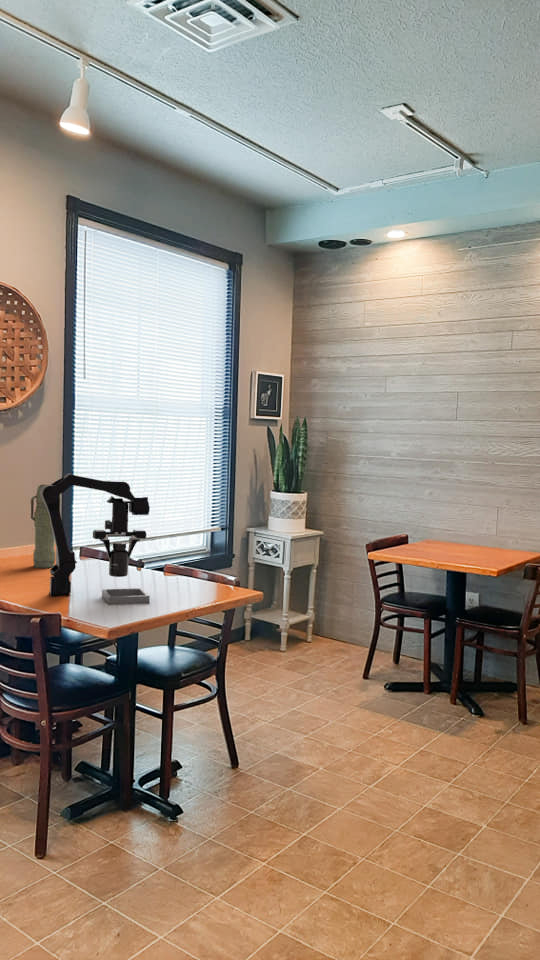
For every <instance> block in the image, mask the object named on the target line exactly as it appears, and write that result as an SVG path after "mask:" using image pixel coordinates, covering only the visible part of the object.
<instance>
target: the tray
mask: <svg viewBox="0 0 540 960" xmlns="http://www.w3.org/2000/svg"><path fill="white" fill-rule="evenodd" d="M150 597H151V596H150V595H149V593H147V592H146V591H145V590H144V589H143V588H142V587H137V588H136V587H134V588H107V589H105V588H104V589H101V598H102V599H103V600H104V601H105V602H106V603H107V605H109V606H110V605H111V606H112V605H113V606H114V605H134V604H135V605H137V604H150Z"/></svg>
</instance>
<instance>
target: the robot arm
mask: <svg viewBox="0 0 540 960" xmlns="http://www.w3.org/2000/svg"><path fill="white" fill-rule="evenodd" d="M44 485H45V486H43V487H42V488H41V490H40V495H41V497H42V500H43V502H44V504H45V506H46V508H47V510H48V514H49V518H50V523H51V527H52V531H53V536H54V546H55V549H56V550H55V566H54V567H52V568H49V569H50V570H49V572H50V573H49V574H50V575H51V576H50V578H49V583H50V584H49V595H50V597H66V596H70V595H71V591H72V590H71V587H72V581H71V580H70V576H71V574H73V572H74V571H75V569H76V564H78V562H77V561H76V556H75V555H76V554H75V551H73V550H72V549H69V547H68V542H67V538H66V534H65V528H64V525H63V521H62V515H61V509H60V510H59V507H60V508H61V499H60V497H61V496H60V495H61V494H63V493H65V492H66V491H67V490H68V489H70V488H71V487H72V486H74V487H81V488H86V489H92V490H97V491H103V492H106V493H108V494H111V496H110V497H109V498H108V499H107V500H106V502H107V503H108V504H112V507H111V508H112V509H111V520H110V519H107V520H104V529H94V530H93V531H92V538H93V539H94V540H99V541H100V542H102V543H103V545H104V547H105V551H106V553H107V557H108V559H110V551H111V543H110V539H109V538H112V537H113V538H117V537H118V538H120V537H122V538H123V537H124V538H125V537H127V538H128V537H129V538H128V549H127V551H128V553H129V555H128V559H129V558H131V555H132V552H133V550H134V547H135V546H136V544H137V543H138V542H140V540H141V539H143V540H145V539H147V531H145V530H144V529H141V528H140V529H139V528H138V529H132V531H129V529H128V528H129V526H128V524H129V513H131V515H132V516H149V514H150V508H151V507H150V503H149V498H148V496H135V495H134V494H133V493H132V491H131V486H130V484H129V483H128V482H127V481H123V480H103V479H102V480H101V479H97V478H92V477H86V476H82V475H81V476H79V475H75V474H73V473H66V474H64V476H63V477H61V478H59V479H57V480H56V481H53V482H52V483H51V484H44ZM113 495H114V496H116V497H117V498H116V497H114V496H113ZM124 499H126V500H124ZM106 530H109V531H106Z"/></svg>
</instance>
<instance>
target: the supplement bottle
mask: <svg viewBox="0 0 540 960" xmlns="http://www.w3.org/2000/svg"><path fill="white" fill-rule="evenodd" d="M126 549H127V543H126V542H121V541H117V542H114V541H113V543H112V550H111V549H110V558H108V559H109V565H108V574H109V576H110V577H117V578H123V577H127V576H128V573H129V558H128V555H129V553H128V549H127V550H126Z"/></svg>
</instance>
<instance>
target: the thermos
mask: <svg viewBox="0 0 540 960" xmlns="http://www.w3.org/2000/svg"><path fill="white" fill-rule="evenodd" d="M45 485H46V484H40V485H38V486H37V489H36V493H35V495H34V496H32V497H31V498H30V519H31V520H32V521H33V522H34V524H33V525H34V529H35V532H34V550H33V555H32V556H33V559H32V560H33V568H36V569H51V568H53V567H54V566H55V565H56V550H55V540H54V536H53V531H52V527H51V523H50V518H49V514H48V510H47V508H46V506H45V504H44V502H43V500H42V497H41V495H40V490H41V488H42V487H43V486H45ZM35 499H36V501H35V502H36V507H35V511H34V504H35V502H34V500H35ZM59 510H60V511H61V506H60V507H59Z"/></svg>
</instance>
